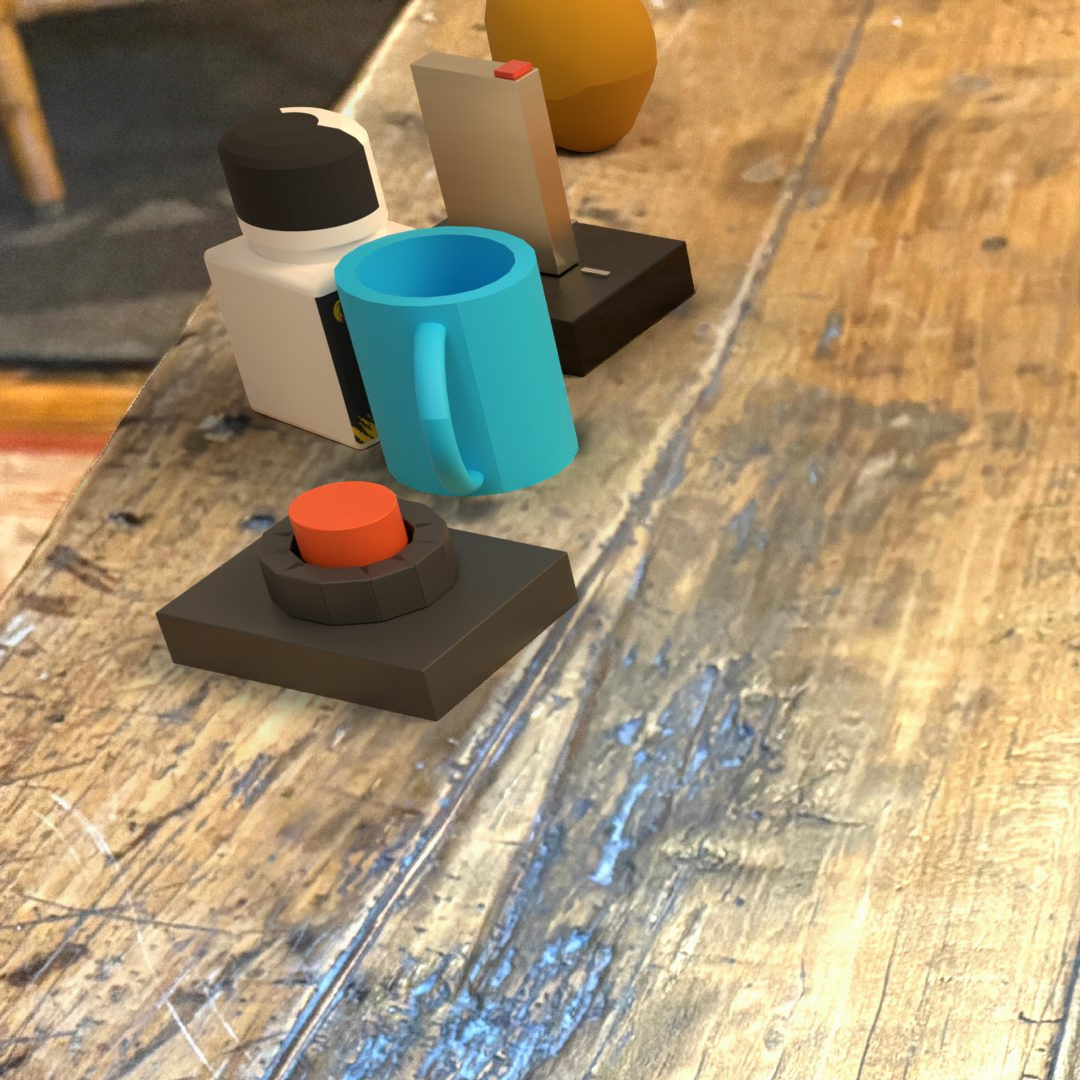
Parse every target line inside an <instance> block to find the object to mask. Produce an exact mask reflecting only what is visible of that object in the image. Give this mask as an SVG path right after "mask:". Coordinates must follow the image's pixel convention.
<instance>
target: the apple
mask: <svg viewBox="0 0 1080 1080" xmlns="http://www.w3.org/2000/svg"><path fill="white" fill-rule="evenodd" d="M483 21H484V27H485V32H486V36H487V42H488V46H489V51H490V57H491V61H496V62H502V63H507V62H509V61H511V60H517V61H523V62H530V63H532V67H533V68H538V70H539V75H540V79H541V84H542V89H543V93H544V98H545V103H546V107H547V112H548V117H549V121H550V126H551V131H552V135H553V140H554V145H555V146H557V147H560V148H562V149H564V150H568V151H572V152H576V153H594V152H600V151H602V150H606V149H608V148H610V147H613V146H614V145H616V144H617V143H618V142H619V141H621V139H623V138H624V137H626V136H627V135H628V134H629V133H630V132H631V130H632V129H633V126H634V124H635V122H636V120H637V118H638V115H640V112H641V109H642V107H643V105H644V103H645V101H646V99H647V96H648V94H649V92H650V90H651V87H652V86H653V84H654V81H655V76H656V71H657V65H658V52H657V40H656V39H657V38H656V34H655V31H654V27H653V24H652V21H651V18H650V15H649V13H648V11H647V9H646V7H645V5H644V4H643V1H642V0H485V10H484V19H483Z"/></svg>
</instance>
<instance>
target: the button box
mask: <svg viewBox="0 0 1080 1080" xmlns="http://www.w3.org/2000/svg"><path fill="white" fill-rule="evenodd" d="M396 498H397V497H396ZM397 502H398V505H399V509H400V512H401V516H402V519H403V523H404V526H405V530H406V534H407V537H408V545H407V546H406V547H404V548H403V549H402V550H401V551H399V552H398V553H397V554H395V555H394V556H393V557H390V558H387V559H384V560H381V561H378V562H375V563H371V564H368V565H365V566H356V567H342V568H326V567H322V566H317V565H312V564H308V563H306V562H305V561H304V560H303V558H302V556H301V553H300V550H299V547H298V544H297V541H296V538H295V534H294V531H293V528H292V525H291V522H290V518H289V515H286V516H284V517H283V518H282V519H280V520H278V522H276V523H274V525H272V526H271V527H269V528H268V529H266V530H265V531H263V533H262V534H261V536H260V537H259V538H258V539H256V540H255V541H253V542H252V543H251V544H249V545H248V546H245V548H244V549H242V550H240V552H238V553H237V554H235V555H234V556H233V557H231V558H230V559H228V560H227V561H225V562H224V563H223V564H221V565H220V566H219V567H217V568H216V569H214V570H213V571H211V572H210V573H209V574H207V575H206V576H204V577H203V578H201V580H199V581H197V582H196V583H195V584H193V585H192V586H190V587H189V588H188V589H186V590H185V591H184V592H182V593H180V594H179V595H177V597H175V598H174V599H172V600H171V601H170V602H168V603H167V604H166V605H164V606H162V607H161V608H160V609H158V610H157V611H156V612H155V617H156V619H157V623H158V626H159V627H160V630H161V633H162V636H163V639H164V641H165V644H166V647H167V649H168V652H169V656H170V659H171V661H172V663H173V664H175V665H176V664H177V665H179V666H180V665H181V666H184V667H190V668H194V669H199V670H203V671H206V672H212V673H216V674H221V675H225V676H230V677H234V678H238V679H243V680H247V681H252V682H256V683H261V684H265V685H270V686H275V687H278V688H279V687H280V688H283V689H289V690H292V691H297V692H301V693H306V694H310V695H314V696H315V695H316V696H319V697H324V698H328V699H333V700H336V701H337V700H338V701H341V702H347V703H350V704H351V703H352V704H355V705H360V706H364V707H368V708H373V709H378V710H383V711H386V712H391V713H396V714H400V715H404V716H405V715H406V716H410V717H414V718H418V719H423V720H426V721H432V722H439V721H440V720H441V719H442V718H443V717H445V716H446V715H447V714H448V713H449V712H451V710H453V709H454V708H455V707H457V705H458V704H460V703H461V702H462V701H463V700H465V699H466V698H467V697H468V696H469V695H471V694H472V692H474V691H475V690H476V689H478V688H479V687H480V686H481V685H482V684H483V683H485V681H487V680H488V679H489V678H491V677H492V676H493V675H494V674H495V673H496V672H498V671H499V670H500V669H501V668H502V667H503V666H504V665H506V664H507V663H508V662H509V661H510V660H511V659H513V658H514V657H515V656H516V655H517V654H519V653H520V652H521V651H522V650H523V649H524V648H526V647H527V646H528V645H529V644H531V642H533V641H534V640H535V639H536V638H538V637H539V636H540V635H541V634H542V633H543V632H545V631H546V630H547V629H548V628H549V627H551V626H552V625H553V624H554V623H555V622H556V621H557V620H559V619H560V618H561V617H562V616H563V615H565V613H567V612H568V611H569V610H570V609H572V608H573V607H574V606H575V605H576V604H577V603H579V596H578V591H577V587H576V583H575V578H574V575H573V571H572V566H571V562H570V557H569V553H568V551H565V550H559V549H555V548H551V547H545V546H540V545H536V544H530V543H525V542H521V541H517V540H511V539H506V538H501V537H496V536H491V535H487V534H481V533H478V532H477V533H476V532H472V531H467V530H462V529H457V528H452V527H448V524H447V521H446V520H445V519H444V518H443V517H441V516H440V515H439V514H438V513H436V512H435V511H434V510H433V509H431V508H430V506H428V505H427V504H425V503H423V502H419V501H413V500H407V499H403V498H399V497H398V498H397Z"/></svg>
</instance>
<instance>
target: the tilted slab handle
mask: <svg viewBox="0 0 1080 1080" xmlns="http://www.w3.org/2000/svg"><path fill="white" fill-rule="evenodd" d="M409 66H410V71H411V75H412V79H413V83H414V88H415V91H416V94H417V100H418V103H419V107H420V112H421V117H422V119H423V125H424V129H425V132H426V136H427V140H428V144H429V147H430V152H431V156H432V160H433V163H434V168H435V172H436V176H437V180H438V184H439V189H440V192H441V197H442V200H443V204H444V209H445V212H446V216H447V217H448V221H449V225H450V226H457V227H479V228H485V229H491V230H497V231H503V232H505V233H508V234H510V235H513V236H515V237H518V238H521V239H523V240H524V241H525V242H526V243H527V244H528V245H530V246H531V247H532V248H533V249H534V251H535V255H536V259H537V264H538V268H539V272H543V273H549V274H554V275H560V274H561V273H563V272H564V271H566V270H567V269H569V268H570V267H571V266H573V265H574V264H576V263H577V262H579V257H578V252H577V247H576V243H575V238H574V233H573V229H572V224H571V219H572V218H571V215H570V211H569V206H568V201H567V195H566V192H565V186H564V181H563V178H562V173H561V169H560V165H559V159H558V155H557V151H556V145H555V144H554V140H553V135H552V131H551V126H550V121H549V117H548V112H547V107H546V103H545V98H544V93H543V89H542V84H541V79H540V75H539V70H538V68H533V67H532V63H530V62H523V61H517V60H511V61H509V62H507V63H502V62H496V61H492V60H489V59H483V58H477V57H470V56H464V55H459V54H452V53H446V52H441V51H434V50H432V51H430V52H428V53H427V54H425V55H424V56H422V57H420V58H418V59H416V60H414V61H412V62H410V64H409ZM447 217H446V218H447Z"/></svg>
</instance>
